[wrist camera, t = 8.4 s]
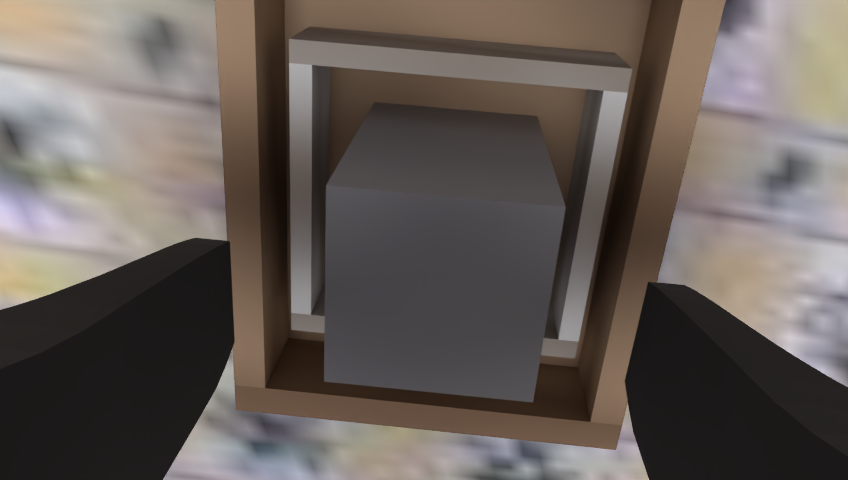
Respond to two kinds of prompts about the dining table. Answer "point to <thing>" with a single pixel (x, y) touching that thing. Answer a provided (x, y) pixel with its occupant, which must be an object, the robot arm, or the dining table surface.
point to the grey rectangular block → (441, 252)
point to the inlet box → (467, 90)
